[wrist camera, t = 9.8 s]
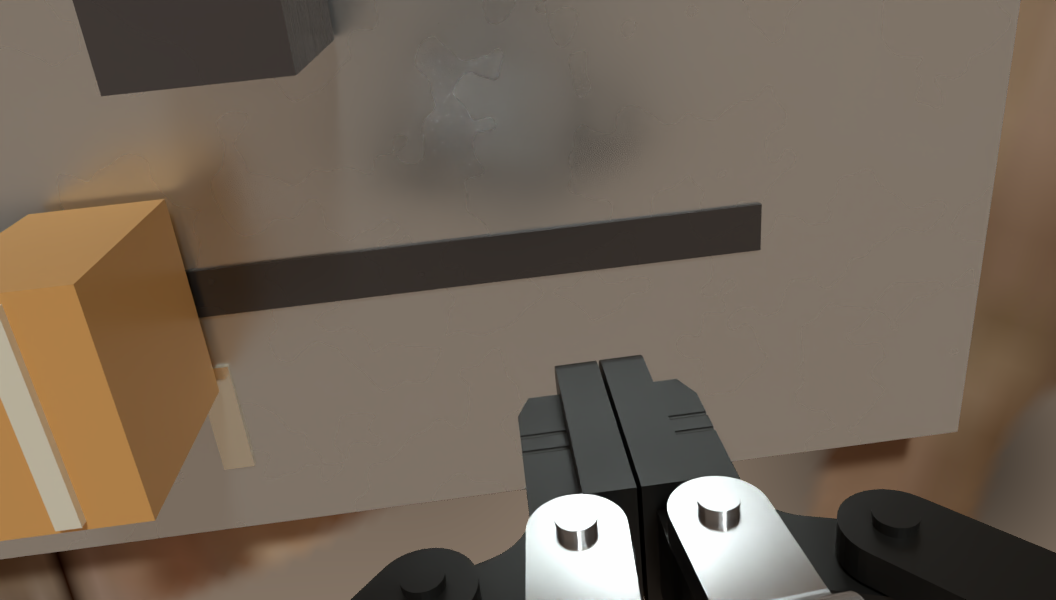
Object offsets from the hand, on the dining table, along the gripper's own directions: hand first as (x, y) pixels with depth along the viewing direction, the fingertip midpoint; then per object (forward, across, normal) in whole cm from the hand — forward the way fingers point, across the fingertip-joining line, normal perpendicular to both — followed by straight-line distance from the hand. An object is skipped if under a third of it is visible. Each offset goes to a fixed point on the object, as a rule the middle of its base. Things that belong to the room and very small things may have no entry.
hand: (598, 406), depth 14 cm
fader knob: (+6, +10, 0) cm, 12 cm away
